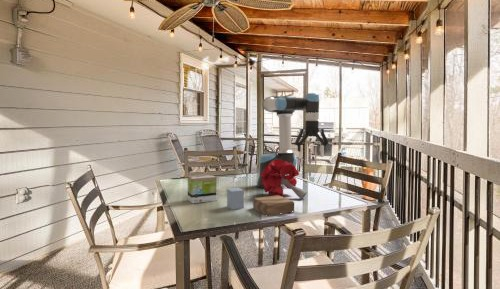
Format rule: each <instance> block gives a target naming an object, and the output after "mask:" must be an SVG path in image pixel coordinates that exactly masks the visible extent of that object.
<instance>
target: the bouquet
mask: <svg viewBox="0 0 500 289" xmlns="http://www.w3.org/2000/svg"><path fill="white" fill-rule="evenodd" d="M296 167H297V166H296ZM296 167H295V166H294V165H293V164H292V162H291V163H290V164H289V163H288V162H286V161H283V160H273V161H272V162H270V163H269V164H268V165H267V166H266V167H265V168H264V170H263V172H262V174H261V176H262V179H261V180H262V183H263V184H264V188H263V190H264V192H265V193H268V195H269V196H275V195H279V196H281V197H284V188H283V186H284V187H285V188H286V189H287V190H288V189H289V190H292V191H293V193H294V194H295V195H296V196H297V197H298V198H299V199H301V200H303V199H304V197H305V196H306V195H307V191H305V190H304V189H301V188H299V187H297V183H298V180H297V178H296V177H298V176H299V175H300V173H299V170H298V169H297V168H296ZM282 185H283V186H282Z"/></svg>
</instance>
